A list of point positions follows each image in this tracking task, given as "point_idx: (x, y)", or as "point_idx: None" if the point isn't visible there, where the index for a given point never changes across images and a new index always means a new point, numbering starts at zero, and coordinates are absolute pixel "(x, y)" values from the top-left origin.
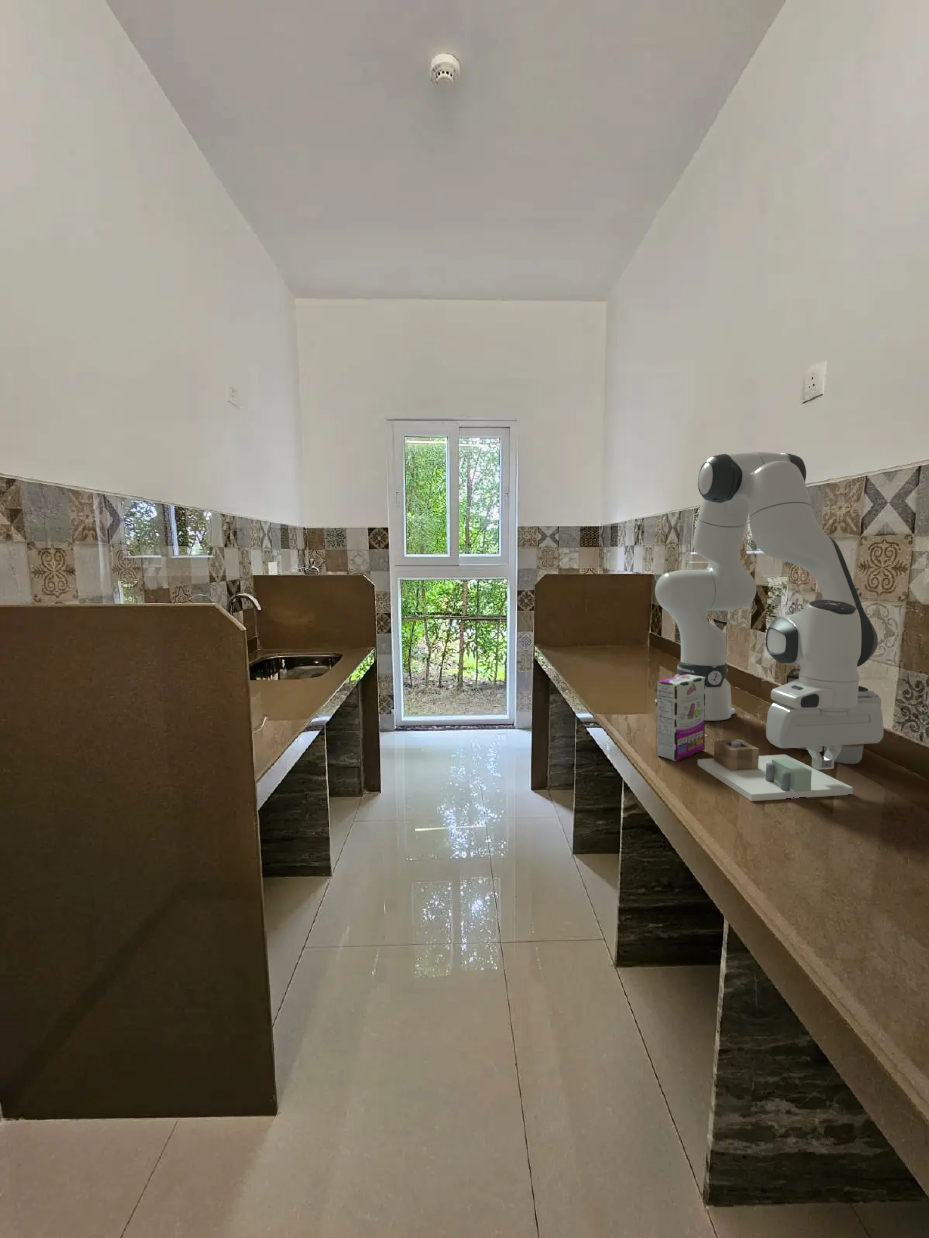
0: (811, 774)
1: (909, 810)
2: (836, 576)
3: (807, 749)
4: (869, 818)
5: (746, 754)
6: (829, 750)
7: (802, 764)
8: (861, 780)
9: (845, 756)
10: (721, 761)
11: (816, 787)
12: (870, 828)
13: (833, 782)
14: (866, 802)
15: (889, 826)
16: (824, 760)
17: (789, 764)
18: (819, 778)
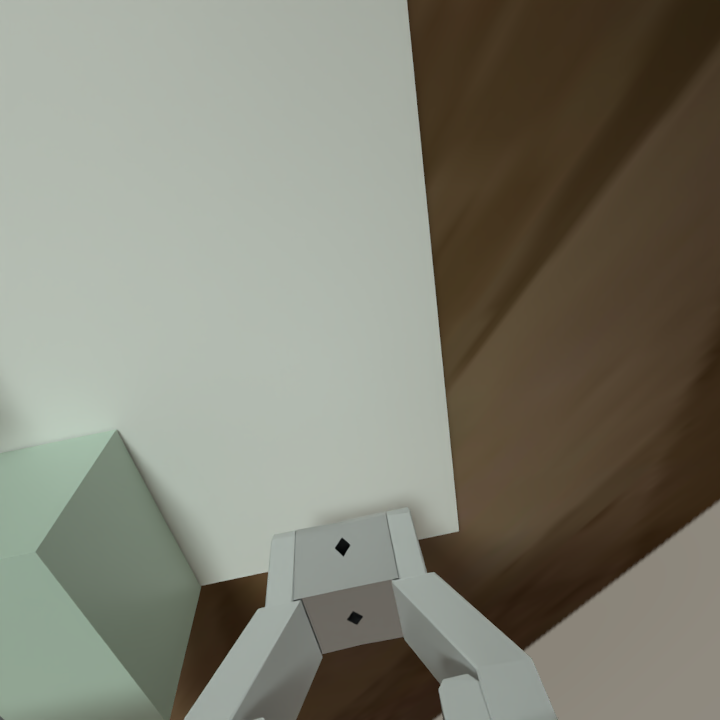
0: (175, 691)
1: (556, 602)
2: None
3: (189, 716)
4: (354, 668)
5: None
6: (453, 658)
7: (385, 120)
8: (662, 313)
9: None
10: None
11: (253, 550)
12: (309, 716)
13: (397, 480)
14: (445, 565)
15: (381, 698)
16: (338, 649)
17: (23, 665)
18: (348, 429)
